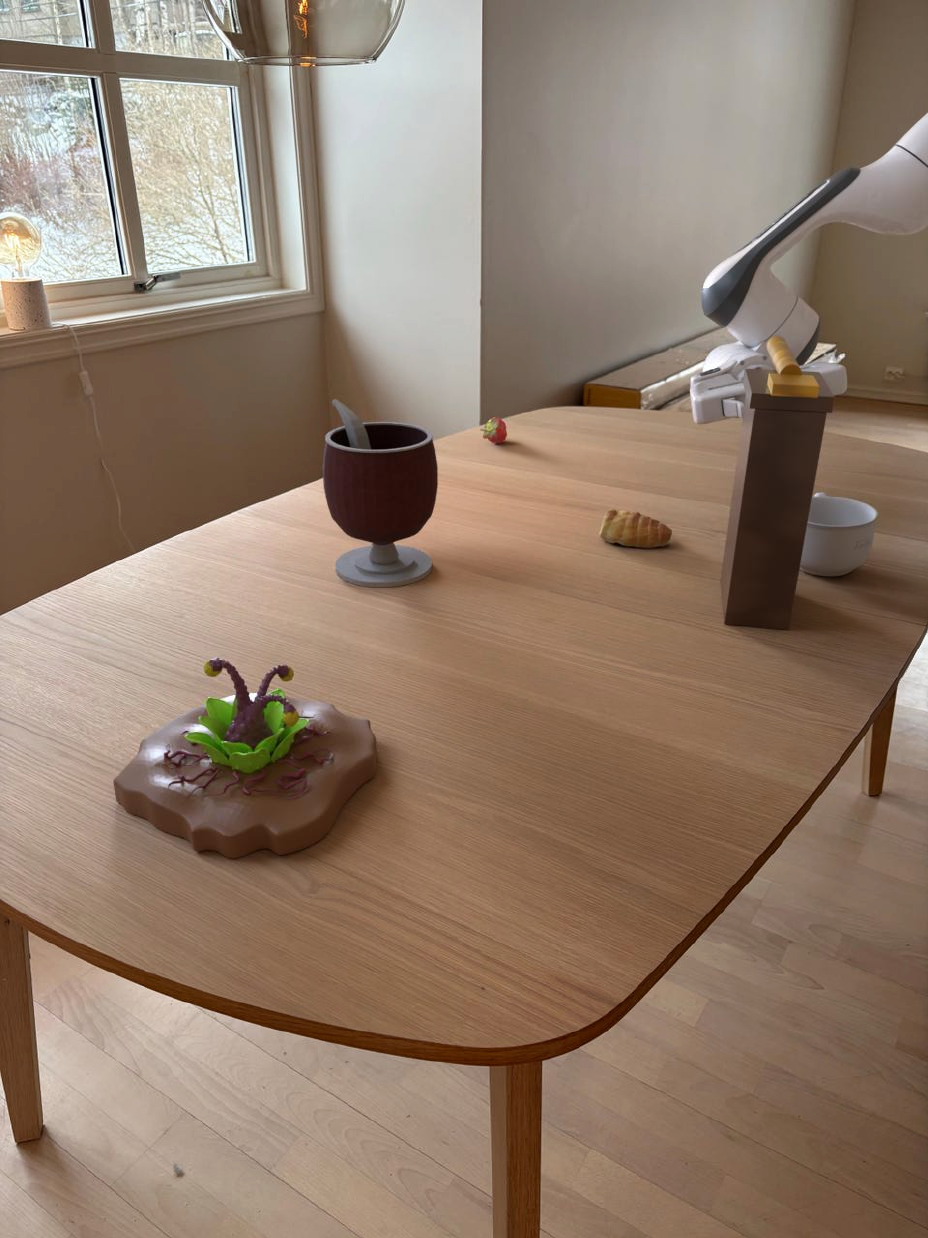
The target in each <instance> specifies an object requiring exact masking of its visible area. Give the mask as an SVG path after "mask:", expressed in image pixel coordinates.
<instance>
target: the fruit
mask: <svg viewBox="0 0 928 1238" xmlns="http://www.w3.org/2000/svg"><path fill="white" fill-rule="evenodd" d="M483 427H484V428H480V429H479V431H480V432H483V434H482V438H483V439H484V440H488V441H489V442H491V443H493V444H502V443H503V442H505V441H506V439H507V437H508V431H507V425H506V422H504V420H503V419H501V418H500V417H494V416H492V417H491V418H490V419H489V420H487V421H486V423H485V425H484V426H483Z"/></svg>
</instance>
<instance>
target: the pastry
mask: <svg viewBox="0 0 928 1238" xmlns="http://www.w3.org/2000/svg"><path fill="white" fill-rule="evenodd" d="M599 530H600V531H599V533H598V535H599V537H600V538H601V539H602V540H604V541H605V542H606V543H611V544H614V543H618V544H620V545H621V546H626V547H636V548H642V549H644V548H645V549H646V548H647V549H652V548H656V547H665V546H666V545H668V544H669V543H670V542H671V539H672V538H671V537H672V535H673V530H672V529H671V528H670V527H669V526H668V525H666V524H664V523H662V522H660V520H657V519H654V518H651V517H650V516H647V515H643V514H640V512H639V511H633V512H631V511H629V510H627V509H623V510H620V511H618V510H616V509H613V508H609V509H608V510H607V511H606V512H605V514H604V517H603V519H602V523H601V526H600V529H599Z"/></svg>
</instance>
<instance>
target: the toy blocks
mask: <svg viewBox="0 0 928 1238" xmlns="http://www.w3.org/2000/svg"><path fill="white" fill-rule="evenodd" d="M767 350H768V352H769V355H770V357H771V359H772V362H773V364H774V366H775V369H776V371H777V373H778V374H773V373H769V376H768V383H767V385H768V388H769V391H770V393H771V396H787V397H805V398H817V397H818V392H819V385H818V383H817V381H816V380H815V378H814V376H813V375H802V371H801V369H800V367H799V365H798V363H797V361H796V359H795V358H794V356H793V354H792V352H791V350H790V348H789V347H788V345H787V343H786V341H785V339H784V338H783V337H781V336H774V337H772V338H770V339H769V341H768V342H767Z"/></svg>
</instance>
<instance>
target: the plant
mask: <svg viewBox="0 0 928 1238" xmlns="http://www.w3.org/2000/svg"><path fill="white" fill-rule="evenodd" d="M223 669H225V670H226V672H227V674H228V675H229V676H230V680H231V681H232V683H233V688H234V690H235V694H233V695H232V694H231V695H229V696H226V697H223V698H217V697H211V696H208V697H207V698H206V699H205V701H204V703H203V704H201V705H198V706H196V707H193V708H191V709H189V710H187V711H185V712H184V713H181V714H179V715H177V716H176V717H174V718H173V719H171V720H169V721H168V722H167V723H165V724H164V725H163V726H161V727H160V728H157V729H156V730H154V731H153V732H152V733H150V734H149V735H148V736H146V737H145V738H144V739H142V740H141V742H140V744H139V748H138V752H137V754H136V755H135V756H134V758H132V759H131V760H130V761H129V762H128V763H127V765H126V766H125V767H124V768H123V769H122V770H121V771H120V772H119V773H118V775H116V777H115V778H114V779H113V787H114V789H113V790H114V795H115V802H117V803H118V804H119V805H121V807H122V808H123V809H124V810H125V811H126V812H127V813H129V814H131V815H134V816H137V817H140V818H142V819H145V820H147V821H148V822H150V824H152V825H153V826H154V827H155V828H156V829H158V830H160V831H161V832H165V833H168V834H171V835H172V836H175V837H179V838H184V839H185V840H187V841H189V842H190V844H191V845H192V848H193V850H194V851H195V852H203V851H214V852H218V853H220V854H221V855H223V856H224V857H226V858H227V859H238V858H242V857H244V856H247V855H249V854H251V853H253V852H256V851H258V850H263V849H268V850H270V851H272V852H273V853H275V854H277V855H278V856H284V855H289V854H292V853H295V852H299V851H301V850H304V849H306V848H308V847H310V846H312V845H314V844H316V843H318V842H319V841H321V840H322V839H323V838H324V837H325V836H326V835H327V834H328V832H330V830H331V829H332V827H333V825H334V824H335V822H336V821H337V817H338V816H339V814H340V812H341V810H342V808H343V807H344V805H345V804H346V803H347V802H348V800H349V799H350V798H351V797H352V796H353V795H354V794H355V793H356V792H357V790H358V789H359V788H360V787H361V786H363V785H364V784H365V783H366V782H368V781H369V780H371V779H372V778H374V777H375V775H376V774H377V759H378V747H377V738H376V737H377V736H376V735H375V733H374V732H373V730H372V727H371V721H370V720H369V719H368V718H358V717H352V716H349V715H346V714H345V713H343V712H341V711H340V710H338V709H337V707H335V706H334V704H331V703H328V702H324V701H314V700H305V699H300V698H294V697H291V696H286V695H285V694H286V693H285V691H284V690H283V689H282V688H277V689H274V690H272V691H270V692H268V690H269V688H270V684H271V683H272V680H273V679H274V678H275V676H276V675H277V676H278V678H279V679H280V680H281V681H282V682H287V683H288V682H291V681H292V680H293V678H294V677H295V671H294V669H293V668H292V667H291V666H289V665H287V664H277V665H276V666H274V667H272V669H269V672H266V674H265V676H264V677H263V678H262V679H261V684H259V686H258V687H259V688H258V691H257V692H249V691H248V686H247V685H246V684H245V683H246V681H245V679H243V678H242V676H241V675H240V674H239V671H238V670H237V668H236V667H235V665H232V664H231V663H230V662H229V661H228V660H225V659H223V658H220V657H212V658H209V659H208V660H206V662H204V664H203V672H204V674H206V676H208V677H209V678H214V677H215V678H217V676H219V675H220V674H221V673H222V671H223Z"/></svg>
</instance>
